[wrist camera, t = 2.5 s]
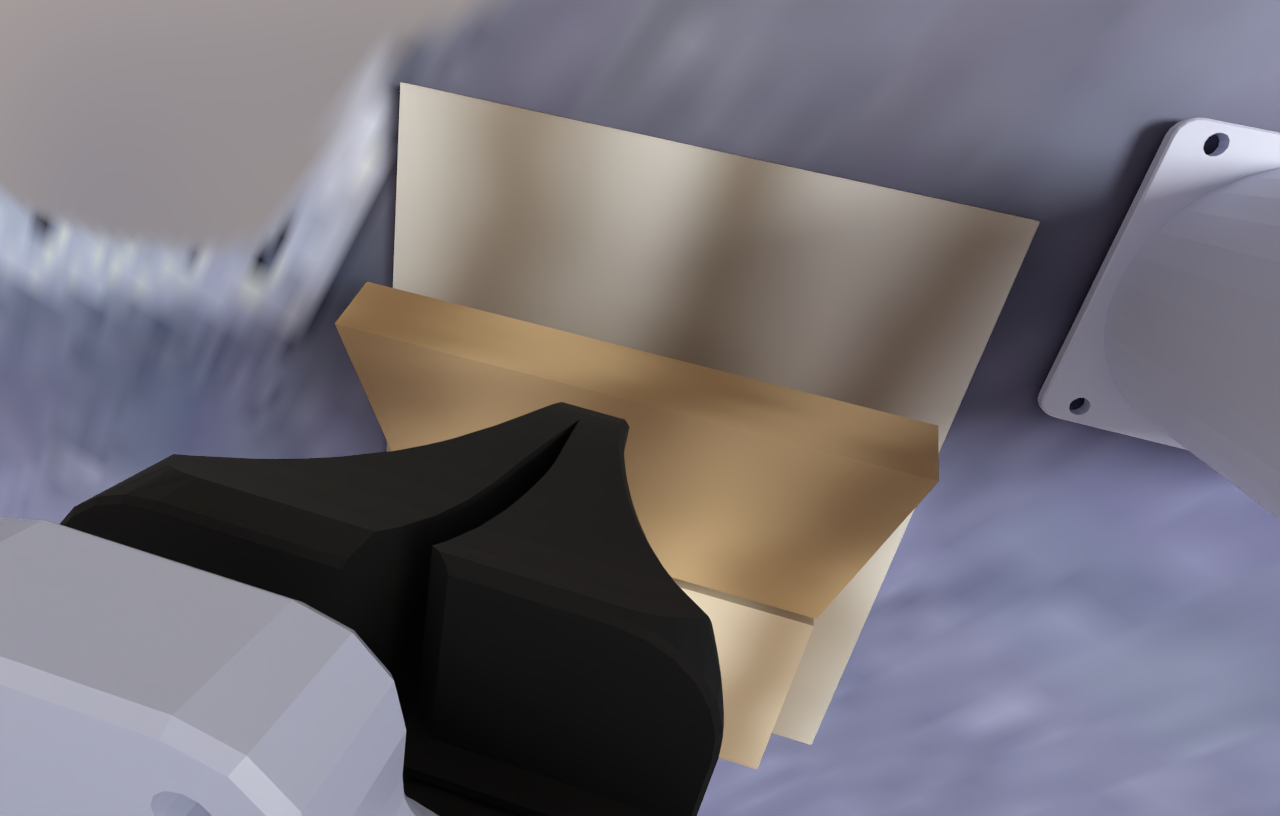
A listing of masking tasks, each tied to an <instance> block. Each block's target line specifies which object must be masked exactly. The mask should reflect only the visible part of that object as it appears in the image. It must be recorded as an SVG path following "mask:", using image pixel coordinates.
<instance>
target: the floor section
mask: <svg viewBox="0 0 1280 816" xmlns="http://www.w3.org/2000/svg"><path fill="white" fill-rule="evenodd" d="M1039 223H1040V222H1039V221H1036V220H1033V219H1028V218H1024V217H1019V216H1015V215H1010V214H1005V213H1001V212H996V211H992V210H987V209H982V208H978V207H973V206H969V205H964V204H959V203H955V202H950V201H946V200H941V199H937V198H932V197H927V196H923V195H918V194H914V193H909V192H904V191H900V190H895V189H891V188H886V187H881V186H877V185H872V184H868V183H863V182H858V181H854V180H849V179H845V178H840V177H836V176H831V175H826V174H822V173H817V172H813V171H808V170H803V169H799V168H794V167H790V166H785V165H780V164H776V163H771V162H767V161H762V160H757V159H753V158H748V157H744V156H739V155H735V154H730V153H725V152H721V151H716V150H712V149H707V148H702V147H698V146H693V145H689V144H684V143H679V142H675V141H670V140H666V139H661V138H656V137H652V136H647V135H643V134H638V133H633V132H629V131H624V130H620V129H615V128H611V127H606V126H601V125H597V124H592V123H588V122H583V121H578V120H574V119H569V118H565V117H560V116H555V115H551V114H546V113H542V112H537V111H532V110H528V109H523V108H519V107H514V106H510V105H505V104H500V103H496V102H491V101H487V100H482V99H477V98H473V97H468V96H464V95H459V94H454V93H450V92H445V91H441V90H436V89H431V88H427V87H422V86H418V85H413V84H408V83H401V82H400V108H399V134H398V161H397V188H396V215H395V242H394V269H393V288H395V289H399V290H403V291H407V292H411V293H415V294H419V295H423V296H427V297H431V298H435V299H439V300H442V301H446V302H450V303H454V304H458V305H462V306H466V307H470V308H474V309H478V310H482V311H486V312H490V313H494V314H498V315H502V316H506V317H510V318H514V319H518V320H522V321H526V322H530V323H534V324H538V325H542V326H545V327H549V328H553V329H557V330H561V331H565V332H569V333H573V334H577V335H581V336H585V337H589V338H593V339H597V340H601V341H605V342H609V343H613V344H617V345H621V346H625V347H629V348H633V349H637V350H641V351H644V352H648V353H652V354H656V355H660V356H664V357H668V358H672V359H676V360H680V361H684V362H688V363H692V364H696V365H700V366H704V367H708V368H712V369H716V370H720V371H724V372H728V373H732V374H736V375H740V376H744V377H747V378H751V379H755V380H759V381H763V382H767V383H771V384H775V385H779V386H783V387H787V388H791V389H795V390H799V391H803V392H807V393H811V394H815V395H819V396H823V397H827V398H831V399H835V400H839V401H843V402H846V403H850V404H854V405H858V406H862V407H866V408H870V409H874V410H878V411H882V412H886V413H890V414H894V415H898V416H902V417H906V418H910V419H914V420H918V421H922V422H926V423H930V424H934V425H938V448H939V452H940V449H941V447H942V445H943V443H944V440H945V438H946V436H947V433H948V431H949V429H950V427H951V424H952V422H953V420H954V417H955V415H956V413H957V411H958V408H959V406H960V404H961V401H962V399H963V397H964V395H965V392H966V390H967V388H968V385H969V383H970V381H971V379H972V376H973V374H974V372H975V369H976V367H977V365H978V362H979V360H980V358H981V356H982V353H983V351H984V349H985V346H986V344H987V342H988V340H989V337H990V335H991V333H992V330H993V328H994V326H995V324H996V321H997V319H998V317H999V314H1000V312H1001V310H1002V308H1003V305H1004V303H1005V301H1006V298H1007V296H1008V294H1009V292H1010V289H1011V287H1012V285H1013V282H1014V280H1015V278H1016V276H1017V273H1018V271H1019V269H1020V266H1021V264H1022V262H1023V260H1024V257H1025V255H1026V253H1027V250H1028V248H1029V246H1030V244H1031V241H1032V239H1033V237H1034V234H1035V232H1036V230H1037V228H1038V225H1039ZM389 451H391V449H390V446H389V444H388V442H387V452H389ZM913 511H914V510H913ZM913 511H912V512H911V513H910V514H909V515H908V516H907V518H906V519H905V520H904V521H903V522H902V523H901V524H900V526H899V527H898V528H897V529H896V530H895V531H894V532H893V533H892V535H891V536H890V537H889V538H888V539H887V540H886V541H885V542H884V544H883V545H882V546H881V547H880V548H879V549H878V550H877V552H876V553H875V554H874V555H873V556H872V557H871V558H870V559H869V561H868V562H867V563H866V564H865V565H864V566H863V567H862V568H861V570H860V571H859V572H858V573H857V574H856V575H855V576H854V578H853V579H852V580H851V581H850V582H849V583H848V584H847V585H846V587H845V588H844V589H843V590H842V591H841V592H840V593H839V594H838V596H837V597H836V598H835V599H834V600H833V601H832V602H831V604H830V605H829V606H828V607H827V608H826V609H825V610H824V611H823V613H822V614H821V615H820V616H819V617H818V618H817V619H815V618H811V617H808V616H804V615H801V614H797V613H794V612H790V611H787V610H783V609H780V608H776V607H773V606H770V605H766V604H763V603H759V602H756V601H752V600H749V599H745V598H742V597H738V596H735V595H731V594H728V593H724V592H721V591H717V590H714V589H710V588H707V587H703V586H700V585H696V584H693V583H689V582H686V581H683V580H679V579H676V578H672V579H673V580H674V581H675V583H676V584H677V585H678V586H679V587H680V588H681V589H682V590H683V591H684V592H685V593H686V594H687V595H688V596H689V597H690V598H691V599H692V600H693V601H694V602H695V603H696V604H697V605H698V606H699V607H700V608H701V609H702V610H703V611H704V612H705V613H706V614H707V615H708V616H709V618H710V620H711V622H712V626H713V631H714V636H715V641H716V646H717V652H718V658H719V664H720V671H721V679H722V690H723V706H724V730H723V739H722V745H721V749H720V754H719V758H722V759H725V760H729V761H732V762H735V763H738V764H741V765H745V766H748V767H751V768H754V769H758V766H759V764H760V761H761V758H762V756H763V753H764V751H765V748H766V746H767V743H768V741H769V738H770V736H771V733H774V734H777V735H780V736H784V737H787V738H790V739H793V740H797V741H800V742H803V743H806V744H810V745H811V744H812V742H813V740H814V738H815V735H816V733H817V731H818V728H819V726H820V724H821V722H822V719H823V717H824V715H825V712H826V710H827V708H828V706H829V703H830V701H831V699H832V696H833V694H834V692H835V690H836V687H837V685H838V683H839V680H840V678H841V676H842V674H843V671H844V669H845V667H846V664H847V662H848V660H849V658H850V655H851V653H852V651H853V648H854V646H855V644H856V642H857V639H858V637H859V635H860V632H861V630H862V628H863V626H864V623H865V621H866V619H867V616H868V614H869V612H870V610H871V607H872V605H873V603H874V600H875V598H876V596H877V594H878V591H879V589H880V587H881V584H882V582H883V580H884V578H885V575H886V573H887V571H888V568H889V566H890V564H891V561H892V559H893V557H894V555H895V552H896V550H897V548H898V545H899V543H900V541H901V539H902V536H903V534H904V532H905V529H906V527H907V525H908V523H909V520H910V518H911V516H912V513H913Z"/></svg>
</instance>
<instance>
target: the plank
mask: <svg viewBox="0 0 1280 816" xmlns="http://www.w3.org/2000/svg"><path fill="white" fill-rule="evenodd" d="M335 326H336V328H337V330H338V333H339V335H340V337H341V339H342V341H343V344H344V346H345V348H346V350H347V353H348V355H349V357H350V359H351V362H352V364H353V366H354V368H355V370H356V373H357V375H358V377H359V379H360V382H361V384H362V386H363V388H364V391H365V393H366V395H367V397H368V400H369V402H370V404H371V406H372V408H373V411H374V413H375V415H376V417H377V420H378V422H379V424H380V426H381V429H382V431H383V433H384V435H385V438H386V440H387V442H388V444H389V446H390V449H391V451H396V450H402V449H407V448H412V447H418V446H423V445H428V444H432V443H437V442H441V441H445V440H449V439H453V438H456V437H459V436H463V435H466V434H469V433H472V432H476V431H479V430H482V429H485V428H489V427H492V426H495V425H498V424H501V423H503V422H506V421H509V420H511V419H514V418H517V417H520V416H522V415H525V414H528V413H530V412H533V411H535V410H538V409H541V408H543V407H546V406H549V405H552V404H555V403H559V402H564V403H567V404H571V405H575V406H578V407H582V408H585V409H589V410H593V411H596V412H600V413H603V414H607V415H611V416H614V417H618V418H621V419H625V420H626V422H627V423H628V425H629V427H630V428H629V432H628V437H627V441H626V445H625V450H624V460H625V469H626V476H627V482H628V486H629V491H630V495H631V499H632V502H633V505H634V509H635V512H636V514H637V517H638V520H639V522H640V525H641V527H642V529H643V531H644V534H645V536H646V538H647V540H648V542H649V544H650V546H651V548H652V549H653V551H654V553H655V554H656V556H657V557H658V559H659V561H660V562H661V564H662V566H663V567H664V568H665V570H666V571H667V572H668V574H669V575H670V576H671V577H672V578H676V579H679V580H683V581H686V582H689V583H693V584H696V585H700V586H703V587H707V588H710V589H714V590H717V591H721V592H724V593H728V594H731V595H735V596H738V597H742V598H745V599H749V600H752V601H756V602H759V603H763V604H766V605H770V606H773V607H776V608H780V609H783V610H787V611H790V612H794V613H797V614H801V615H804V616H808V617H811V618H815V619H817V618H818V617H819V616H820V615H821V614H822V613H823V611H824V610H825V609H826V608H827V607H828V606H829V605H830V604H831V602H832V601H833V600H834V599H835V598H836V597H837V596H838V594H839V593H840V592H841V591H842V590H843V589H844V588H845V587H846V585H847V584H848V583H849V582H850V581H851V580H852V579H853V578H854V576H855V575H856V574H857V573H858V572H859V571H860V570H861V568H862V567H863V566H864V565H865V564H866V563H867V562H868V561H869V559H870V558H871V557H872V556H873V555H874V554H875V553H876V552H877V550H878V549H879V548H880V547H881V546H882V545H883V544H884V542H885V541H886V540H887V539H888V538H889V537H890V536H891V535H892V533H893V532H894V531H895V530H896V529H897V528H898V527H899V526H900V524H901V523H902V522H903V521H904V520H905V519H906V518H907V516H908V515H909V514H910V513H911V512H912V511H913V510H914V509H915V507H916V506H917V505H918V504H919V503H920V502H921V501H922V500H923V498H924V497H925V496H926V495H927V494H928V493H929V492H930V490H931V489H932V488H933V487H934V486H935V485H936V484H937V483H938V481H939V448H938V425H934V424H930V423H926V422H922V421H918V420H914V419H910V418H906V417H902V416H898V415H894V414H890V413H886V412H882V411H878V410H874V409H870V408H866V407H862V406H858V405H854V404H850V403H846V402H843V401H839V400H835V399H831V398H827V397H823V396H819V395H815V394H811V393H807V392H803V391H799V390H795V389H791V388H787V387H783V386H779V385H775V384H771V383H767V382H763V381H759V380H755V379H751V378H747V377H744V376H740V375H736V374H732V373H728V372H724V371H720V370H716V369H712V368H708V367H704V366H700V365H696V364H692V363H688V362H684V361H680V360H676V359H672V358H668V357H664V356H660V355H656V354H652V353H648V352H644V351H641V350H637V349H633V348H629V347H625V346H621V345H617V344H613V343H609V342H605V341H601V340H597V339H593V338H589V337H585V336H581V335H577V334H573V333H569V332H565V331H561V330H557V329H553V328H549V327H545V326H542V325H538V324H534V323H530V322H526V321H522V320H518V319H514V318H510V317H506V316H502V315H498V314H494V313H490V312H486V311H482V310H478V309H474V308H470V307H466V306H462V305H458V304H454V303H450V302H446V301H442V300H439V299H435V298H431V297H427V296H423V295H419V294H415V293H411V292H407V291H403V290H399V289H395V288H391V287H387V286H383V285H379V284H375V283H371V282H366V283H365V285H364V286H363V287H362V289H361V290H360V291H359V292H358V294H357V295H356V296H355V298H354V299H353V300H352V302H351V303H350V304H349V305H348V307H347V308H346V309H345V311H344V312H343V313H342V315H341V316H340V317H339V318H338V320H337V321H336V322H335Z"/></svg>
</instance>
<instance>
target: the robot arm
mask: <svg viewBox="0 0 1280 816" xmlns="http://www.w3.org/2000/svg"><path fill="white" fill-rule="evenodd" d="M1213 134H1216V135H1218V138H1219V140H1220V141H1219V145H1218V148H1217V149H1216V150H1215V151H1214V152H1213V153H1211V154H1209V155H1207V154H1205V152H1204V150H1203V147H1204V142H1205V141H1206V140H1207V139H1208V137H1209V136H1211V135H1213ZM1077 398H1084V404H1083V405H1082V406H1081V407H1080V408H1078V409H1076V410H1070V409H1069V407H1070V403H1071V402H1072V401H1073V400H1075V399H1077ZM1038 404H1039V406H1040V407H1041V409H1042V410H1043V411H1044V412H1045V413H1046V414H1048V415H1050V416H1052V417H1055V418H1059V419H1063V420H1067V421H1071V422H1075V423H1079V424H1083V425H1087V426H1091V427H1096V428H1100V429H1104V430H1108V431H1112V432H1116V433H1120V434H1124V435H1128V436H1132V437H1136V438H1140V439H1144V440H1148V441H1152V442H1156V443H1160V444H1164V445H1168V446H1172V447H1177V448H1181V449H1185V450H1188V451H1190V452H1191V453H1192V454H1194V455H1195V456H1196V457H1198V458H1199V459H1200V460H1202V461H1203V462H1204V463H1206V464H1207V465H1208V466H1209V467H1211V468H1212V469H1213V470H1215V471H1216V472H1217V473H1219V474H1220V475H1221V476H1223V477H1224V478H1225V479H1227V480H1228V481H1229V482H1230V483H1232V484H1233V485H1234V486H1236V487H1237V488H1238V489H1240V490H1241V491H1242V492H1244V493H1245V494H1246V495H1248V496H1249V497H1250V498H1251V499H1253V500H1254V501H1255V502H1257V503H1258V504H1259V505H1261V506H1262V507H1263V508H1265V509H1266V510H1267V511H1269V512H1270V513H1271V514H1272V515H1274V516H1275V517H1276V518H1278V519H1279V520H1280V133H1279V132H1274V131H1269V130H1263V129H1258V128H1253V127H1248V126H1243V125H1238V124H1233V123H1228V122H1223V121H1218V120H1213V119H1208V118H1187V119H1185V120H1182V121H1179V122H1178V123H1176V124H1175V125H1174V126H1172V127H1171V128H1170V129H1169V131H1168V132H1167V134H1166V135H1165V137H1164V139H1163V141H1162V143H1161V145H1160V147H1159V149H1158V151H1157V153H1156V155H1155V157H1154V159H1153V161H1152V163H1151V165H1150V167H1149V169H1148V171H1147V173H1146V175H1145V178H1144V180H1143V182H1142V184H1141V186H1140V188H1139V190H1138V192H1137V194H1136V196H1135V198H1134V200H1133V202H1132V204H1131V206H1130V208H1129V210H1128V212H1127V214H1126V216H1125V218H1124V221H1123V223H1122V225H1121V227H1120V229H1119V231H1118V233H1117V235H1116V237H1115V239H1114V241H1113V243H1112V245H1111V247H1110V249H1109V251H1108V253H1107V255H1106V257H1105V259H1104V261H1103V263H1102V266H1101V268H1100V270H1099V272H1098V274H1097V276H1096V278H1095V280H1094V282H1093V284H1092V286H1091V288H1090V290H1089V292H1088V294H1087V296H1086V298H1085V300H1084V302H1083V304H1082V306H1081V309H1080V311H1079V313H1078V315H1077V317H1076V319H1075V321H1074V323H1073V325H1072V327H1071V329H1070V331H1069V333H1068V335H1067V337H1066V339H1065V341H1064V343H1063V345H1062V347H1061V349H1060V352H1059V354H1058V356H1057V358H1056V360H1055V362H1054V364H1053V366H1052V368H1051V370H1050V372H1049V374H1048V376H1047V378H1046V380H1045V382H1044V384H1043V386H1042V388H1041V390H1040V392H1039V396H1038ZM629 428H630V427H629V425H628V423H627V422H626V420H625V419H621V418H618V417H614V416H611V415H607V414H603V413H600V412H596V411H593V410H589V409H585V408H582V407H578V406H575V405H571V404H567V403H564V402H559V403H555V404H552V405H549V406H546V407H543V408H541V409H538V410H535V411H533V412H530V413H528V414H525V415H522V416H520V417H517V418H514V419H511V420H509V421H506V422H503V423H501V424H498V425H495V426H492V427H489V428H485V429H482V430H479V431H476V432H472V433H469V434H466V435H463V436H459V437H456V438H453V439H449V440H445V441H441V442H437V443H432V444H428V445H423V446H418V447H412V448H407V449H402V450H396V451H389V452H380V453H371V454H362V455H353V456H344V457H331V458H310V459H246V458H225V457H205V456H188V455H176V454H174V455H171V456H169V457H168V458H166V459H164V460H162V461H160V462H158V463H156V464H154V465H153V466H151V467H149V468H147V469H145V470H143V471H141V472H139V473H137V474H136V475H134V476H132V477H130V478H128V479H126V480H124V481H122V482H121V483H119V484H117V485H115V486H113V487H111V488H109V489H107V490H105V491H104V492H102V493H100V494H98V495H96V496H94V497H92V498H90V499H88V500H87V501H85V502H83V503H81V504H79V505H77V506H75V507H74V508H73V509H72V510H71V511H70V513H69V514H68V515H67V516H66V517H65V519H64V520H63V521H62V522H61V523H60V524H57V523H53V522H48V521H44V520H34V519H21V518H7V517H0V816H697V813H698V811H699V808H700V805H701V803H702V800H703V797H704V795H705V792H706V789H707V787H708V784H709V782H710V779H711V776H712V774H713V771H714V768H715V766H716V763H717V760H718V758H719V754H720V749H721V745H722V739H723V730H724V706H723V690H722V679H721V671H720V664H719V658H718V652H717V646H716V641H715V636H714V631H713V626H712V622H711V620H710V618H709V616H708V615H707V614H706V613H705V612H704V611H703V610H702V609H701V608H700V607H699V606H698V605H697V604H696V603H695V602H694V601H693V600H692V599H691V598H690V597H689V596H688V595H687V594H686V593H685V592H684V591H683V590H682V589H681V588H680V587H679V586H678V585H677V584H676V583H675V581H674V580H673V579H672V577H671V576H670V575H669V574H668V572H667V571H666V570H665V568H664V567H663V566H662V564H661V562H660V561H659V559H658V557H657V556H656V554H655V553H654V551H653V549H652V548H651V546H650V544H649V542H648V540H647V538H646V536H645V534H644V531H643V529H642V527H641V525H640V522H639V520H638V517H637V514H636V512H635V509H634V505H633V502H632V499H631V495H630V491H629V486H628V482H627V476H626V469H625V460H624V450H625V445H626V441H627V437H628V432H629Z"/></svg>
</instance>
